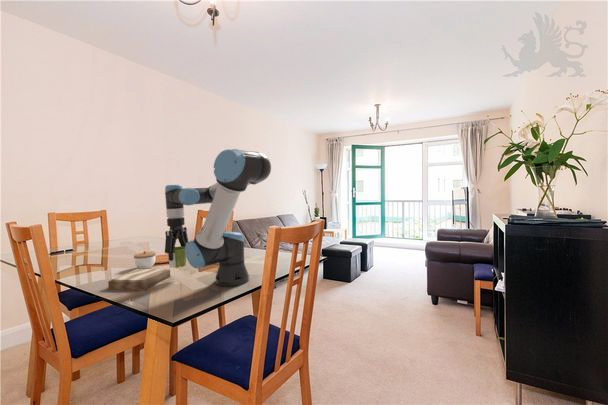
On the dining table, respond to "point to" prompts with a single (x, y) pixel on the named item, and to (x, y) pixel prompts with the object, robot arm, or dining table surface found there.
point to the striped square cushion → (139, 279)
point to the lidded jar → (145, 259)
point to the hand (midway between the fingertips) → (178, 264)
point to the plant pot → (180, 256)
